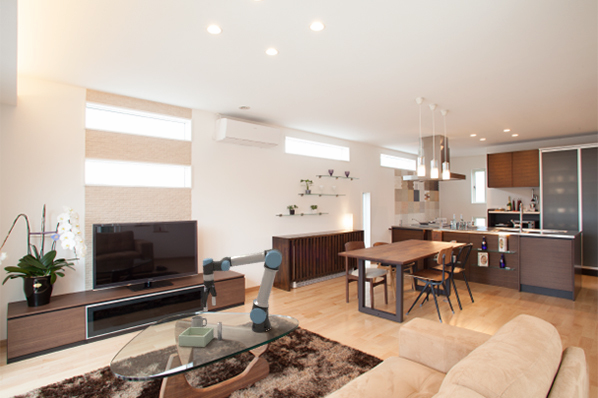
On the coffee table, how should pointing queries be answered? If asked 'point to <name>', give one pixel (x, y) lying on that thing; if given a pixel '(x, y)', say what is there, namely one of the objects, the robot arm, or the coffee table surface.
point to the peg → (219, 330)
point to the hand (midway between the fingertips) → (210, 308)
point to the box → (196, 336)
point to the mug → (198, 321)
